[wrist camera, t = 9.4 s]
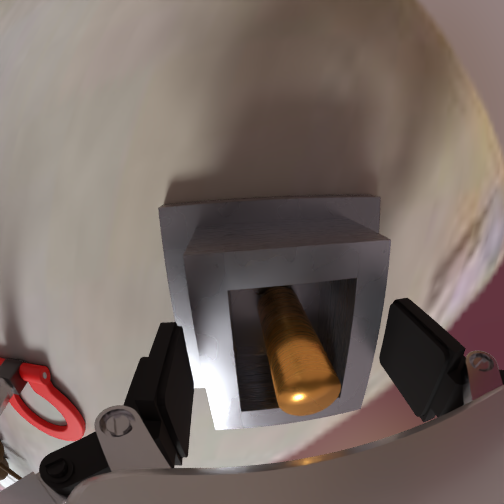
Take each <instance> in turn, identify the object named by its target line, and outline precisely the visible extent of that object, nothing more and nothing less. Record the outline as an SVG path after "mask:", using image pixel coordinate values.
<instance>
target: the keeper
mask: <svg viewBox="0 0 504 504" xmlns="http://www.w3.org/2000/svg"><path fill="white" fill-rule="evenodd" d="M158 209H159V219H160V227H161V235H162V243H163V251H164V258H165V265H166V271H167V278H168V284H169V290H170V296H171V302H172V307H173V313H174V318H175V322H176V323H177V326H182V328H183V332H184V337H185V342H186V347H187V352H188V357H189V362H190V366H191V371H192V375H193V380H194V388H206V386H205V381H204V377H203V372H202V367H201V362H200V357H199V352H198V347H197V341H196V336H195V330H194V325H193V319H192V313H191V307H190V301H189V294H188V288H187V281H186V274H185V267H184V260H183V255H184V252H185V250H186V248H187V246H188V244H189V242H190V240H191V237H192V235H193V233H194V231H195V229H196V227H198V226H210V225H222V224H235V223H249V222H264V221H279V220H296V219H314V218H333V217H347V218H349V219H351V220H353V221H355V222H357V223H359V224H361V225H363V226H365V227H367V228H369V229H371V230H373V231H375V232H377V233H379V220H380V197H377V196H374V195H308V196H280V197H259V198H241V199H225V200H212V201H199V202H187V203H176V204H165V205H162V206H161V207H159V208H158ZM230 291H231V302H232V312H233V322H234V332H235V342H236V351H237V355H245V354H256V353H266V352H267V356H268V361H269V366H270V370H271V375H272V379H273V384H274V389H275V393H276V398H277V402H278V406H279V407H280V409H281V410H282V411H284V412H285V413H287V414H290V415H295V416H305V415H311V414H314V413H317V412H320V411H322V410H324V409H325V408H327V407H328V406H330V405H331V404H332V403H333V402H334V401H335V400H336V399H337V397H338V396H339V393H340V390H341V383H340V380H339V378H338V376H337V374H336V372H335V370H334V368H333V366H332V364H331V362H330V360H329V358H328V356H327V354H326V352H325V350H324V348H323V346H322V344H321V342H320V340H319V338H318V336H317V329H318V312H319V292H320V282H314V283H304V284H294V285H283V286H273V287H261V288H250V289H237V290H230Z"/></svg>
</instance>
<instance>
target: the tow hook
mask: <svg viewBox="0 0 504 504" xmlns="http://www.w3.org/2000/svg"><path fill="white" fill-rule="evenodd" d="M27 382H29V384H30V385H31V387H32V389H33V390H34V391H35V392H36V393H37V394H39V395H40V396H42V397H43V398H45V399H46V400H47V401H49V402H50V403H51V404H52V405H53V406H54V407H55V408H56V409H57V410H58V411H59V412H60V413H61V414H62V415H63V417H64V418H65V420H66V422H67V425H66V426H58V425H54V424H52V423H49V422H47V421H45V420H43V419H42V418H40V417H39V416H37V415H36V414H35V413H34V412H32V411H31V410H30V409H29V408H28V407H27V406H26V405H25V404H24V402H23V401H22V399H21V398H20V396H19V395H20V393H21V391H22V390H23V388H24V387H25V385H26V383H27ZM8 402H10V403H11V405H12V406H13V407H14V409H15V410H16V411H17V412H18V413H19V414H20V415H21V416H22V417H23V418H24V419H26V420H27V421H28V422H29V423H30V424H32V425H33V426H35V427H36V428H38V429H39V430H41V431H43V432H45V433H46V434H48V435H50V436H53V437H55V438H58V439H62V440H66V441H76V440H79V439H81V438H82V436H83V435H84V432H85V422H84V420H83V417H82V416H81V414H80V413H79V411H78V410H77V409H76V407H75V406H74V405H73V404H72V403H71V402H70V401H69V400H68V399H67V398H66V397H65V396H64V395H63V394H62V393H61V392H60V391H58V390H57V389H56V388H55V387H54V386H53V385H52V383H51V381H50V371H49V369H48V368H47V367H46V366H42V365H35V364H30V363H26V362H25V361H21V360H15V359H10V358H7V359H4V358H0V415H1V414H2V412H3V411H4V409H5V407H6V406H7V404H8Z"/></svg>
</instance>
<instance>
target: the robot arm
mask: <svg viewBox="0 0 504 504" xmlns="http://www.w3.org/2000/svg"><path fill="white" fill-rule="evenodd" d="M464 351H465V348H464V347H463V346H462V345H461V344H460V343H459V342H458V341H457V340H456V339H455V338H453V337H452V336H451V335H450V334H449V333H448V332H447V331H446V330H445V329H443V328H442V327H441V326H440V325H439V324H438V323H437V322H436V321H434V320H433V319H432V318H431V317H430V316H429V315H427V314H426V313H425V312H424V311H423V310H422V309H421V308H419V307H418V306H417V305H416V304H415V303H413V302H412V301H411V300H410V299H408V298H403V299H397V300H395V301H394V302H393V304H391V305H390V308H389V314H388V319H387V324H386V329H385V334H384V339H383V344H382V348H381V352H380V357H379V359H380V363H381V365H382V367H383V368H384V369H385V371H386V372H387V374H388V375H389V377H390V378H391V380H392V381H393V382H394V384H395V385H396V387H397V388H398V390H399V391H400V393H401V394H402V395H403V397H404V398H405V400H406V401H407V403H408V404H409V406H410V407H411V409H412V410H413V412H414V413H415V415H416V416H418V417H419V416H420V418H421V419H422V421H423V422H426V421H428V420H430V419H433V418H434V417H435V415H436V416H437V417H438V418H436V419H434V420H431V421H429V422H427V423H424V424H422V425H419V426H417V427H414V428H412V429H410V430H407V431H404V432H401V433H398V434H395V435H393V436H390V437H387V438H384V439H381V440H378V441H374V442H371V443H368V444H364V445H361V446H357V447H353V448H350V449H346V450H342V451H338V452H334V453H330V454H324V455H320V456H315V457H310V458H304V459H299V460H293V461H286V462H279V463H271V464H262V465H252V466H239V467H223V468H174V465H182V458H183V457H187V456H188V448H189V436H190V425H191V414H192V404H193V394H194V380H193V375H192V371H191V366H190V362H189V357H188V352H187V347H186V342H185V337H184V332H183V328H182V326H177V323H176V322H168V323H161V324H160V326H159V329H158V332H157V334H156V337H155V340H154V343H153V345H152V348H151V351H150V354H149V357H142V358H141V359H140V361H139V363H138V366H137V369H136V372H135V374H134V377H133V380H132V382H131V385H130V388H129V391H128V394H127V397H126V399H125V402H124V405H117V406H112V407H109V408H107V409H105V410H103V411H102V412H101V413H100V414H99V415H98V416H97V418H96V420H95V431H96V432H94V433H92V434H90V435H88V436H86V437H84V438H82V439H80V440H78V441H76V442H73V443H71V444H69V445H67V446H65V447H63V448H61V449H59V450H56V451H54V452H52V453H50V454H48V455H47V456H45V458H44V459H43V460H42V461H41V464H40V468H39V473H37V474H35V473H34V472H31V473H30V474H28V475H27V476H25V477H24V478H22V479H20V480H19V481H17V482H15V483H14V484H12V485H11V486H9V487H7V488H6V489H4V490H2V491H1V492H0V504H504V370H499V368H498V365H497V362H496V360H495V359H494V358H493V357H492V356H491V355H490V354H488V353H486V352H483V351H473V352H470V353H469V354H468V355H467V356H466V357H465V356H464V355H463V354H464Z"/></svg>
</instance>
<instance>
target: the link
mask: <svg viewBox="0 0 504 504" xmlns="http://www.w3.org/2000/svg"><path fill="white" fill-rule="evenodd" d="M390 246H391V240H390V239H388V238H387V237H385V236H383V235H381V234H379V233H377V232H375V231H373V230H371V229H369V228H367V227H365V226H363V225H361V224H359V223H357V222H355V221H353V220H351V219H349V218H347V217H333V218H314V219H296V220H279V221H264V222H249V223H235V224H222V225H210V226H198V227H196V229H195V231H194V233H193V235H192V237H191V240H190V242H189V244H188V246H187V248H186V250H185V252H184V255H183V260H184V267H185V274H186V281H187V288H188V294H189V301H190V307H191V313H192V319H193V325H194V330H195V336H196V341H197V347H198V352H199V357H200V362H201V367H202V372H203V377H204V381H205V386H206V391H207V395H208V399H209V404H210V408H211V412H212V417H213V421H214V425H215V429H216V430H225V429H241V428H253V427H263V426H272V425H280V424H287V423H294V422H300V421H306V420H312V419H317V418H322V417H327V416H332V415H337V414H341V413H346V412H350V411H354V410H358V409H361V405H362V402H363V398H364V395H365V391H366V387H367V383H368V379H369V375H370V371H371V367H372V363H373V358H374V354H375V349H376V344H377V339H378V334H379V329H380V323H381V317H382V311H383V305H384V298H385V291H386V284H387V276H388V267H389V257H390ZM314 282H320V292H319V312H318V329H317V336H318V338H319V340H320V342H321V344H322V346H323V348H324V350H325V352H326V354H327V356H328V358H329V360H330V362H331V364H332V366H333V368H334V370H335V372H336V374H337V376H338V378H339V380H340V383H341V390H340V393H339V396H338V397H337V399H336V400H335V401H334V402H333V403H332V404H331V405H330V406H328V407H327V408H325V409H324V410H322V411H320V412H317V413H314V414H311V415H305V416H295V415H290V414H287V413H285V412H284V411H282V410H281V409H280V407H279V406H278V402H277V398H276V393H275V389H274V384H273V379H272V375H271V370H270V366H269V361H268V356H267V352H266V353H256V354H245V355H237V351H236V342H235V332H234V322H233V312H232V302H231V291H230V290H237V289H250V288H261V287H273V286H283V285H294V284H304V283H314Z"/></svg>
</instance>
